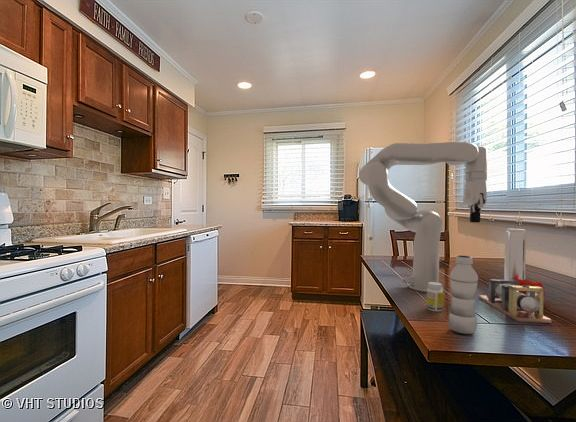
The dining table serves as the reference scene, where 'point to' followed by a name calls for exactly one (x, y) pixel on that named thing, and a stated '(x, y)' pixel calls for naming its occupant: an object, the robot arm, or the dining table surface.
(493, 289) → the collar rail
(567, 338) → the dining table surface
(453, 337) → the dining table surface
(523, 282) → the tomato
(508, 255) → the air filter
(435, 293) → the supplement bottle
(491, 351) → the dining table surface
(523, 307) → the air tube
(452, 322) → the plastic bottle
